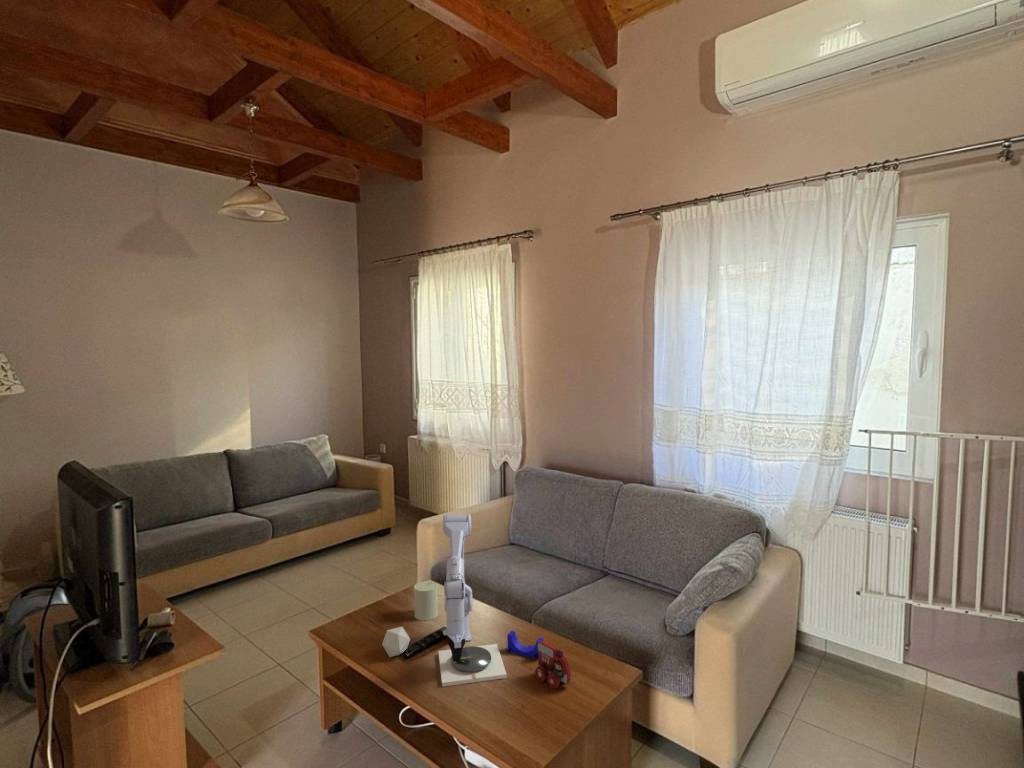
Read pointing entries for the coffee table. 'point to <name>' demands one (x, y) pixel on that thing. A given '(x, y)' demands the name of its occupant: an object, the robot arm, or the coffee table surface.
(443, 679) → the wheel base
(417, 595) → the can
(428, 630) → the coffee table surface
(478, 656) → the handwheel
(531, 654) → the cable clip
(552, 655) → the toy fire truck
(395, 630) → the die
